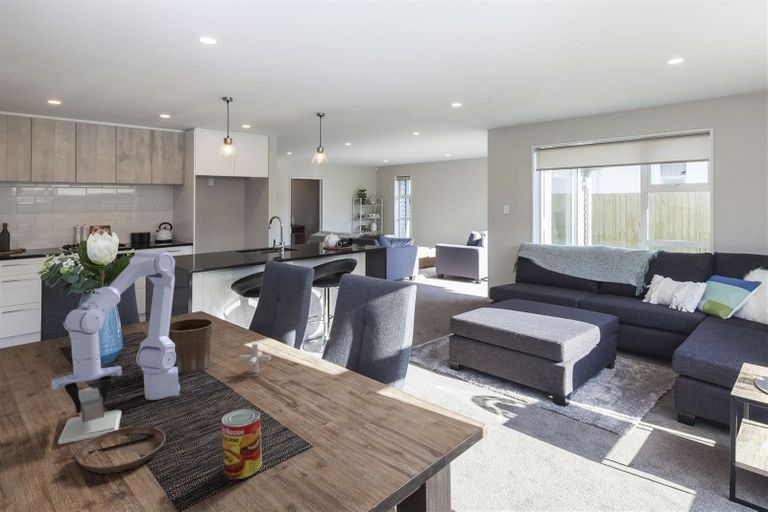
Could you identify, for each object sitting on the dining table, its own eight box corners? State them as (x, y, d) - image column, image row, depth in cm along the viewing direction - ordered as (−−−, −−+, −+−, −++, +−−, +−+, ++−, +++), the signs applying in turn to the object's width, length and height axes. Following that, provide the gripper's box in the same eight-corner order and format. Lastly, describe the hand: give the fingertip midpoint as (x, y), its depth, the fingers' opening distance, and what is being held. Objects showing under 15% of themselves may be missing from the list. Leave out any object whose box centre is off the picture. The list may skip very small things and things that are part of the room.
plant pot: (204, 377, 151) (201, 330, 149) (156, 377, 151) (153, 330, 149) (222, 360, 167) (220, 318, 165) (179, 360, 167) (177, 318, 165)
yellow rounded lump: (95, 393, 134) (85, 397, 132) (91, 398, 136) (81, 402, 133) (90, 385, 135) (80, 388, 132) (86, 390, 136) (76, 394, 134)
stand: (121, 417, 122) (121, 408, 122) (117, 437, 111) (116, 427, 111) (68, 426, 117) (67, 417, 116) (58, 449, 106) (57, 439, 106)
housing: (104, 417, 111) (103, 398, 111) (83, 423, 109) (81, 403, 108) (98, 405, 118) (96, 387, 118) (77, 410, 115) (76, 391, 115)
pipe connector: (266, 377, 150) (265, 348, 149) (236, 377, 150) (235, 348, 149) (274, 367, 160) (273, 339, 159) (246, 366, 160) (245, 339, 159)
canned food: (216, 471, 97) (214, 418, 96) (247, 455, 103) (245, 405, 102) (238, 485, 92) (235, 429, 91) (269, 467, 98) (267, 415, 97)
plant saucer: (178, 436, 112) (177, 424, 112) (143, 479, 95) (142, 465, 94) (106, 437, 112) (105, 426, 111) (57, 481, 94) (56, 467, 94)
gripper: (116, 346, 120) (119, 395, 121) (48, 359, 110) (53, 411, 112) (122, 353, 114) (125, 404, 116) (51, 366, 105) (56, 421, 106)
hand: (90, 408), depth 113 cm, fingers closed on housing, 4 cm apart
